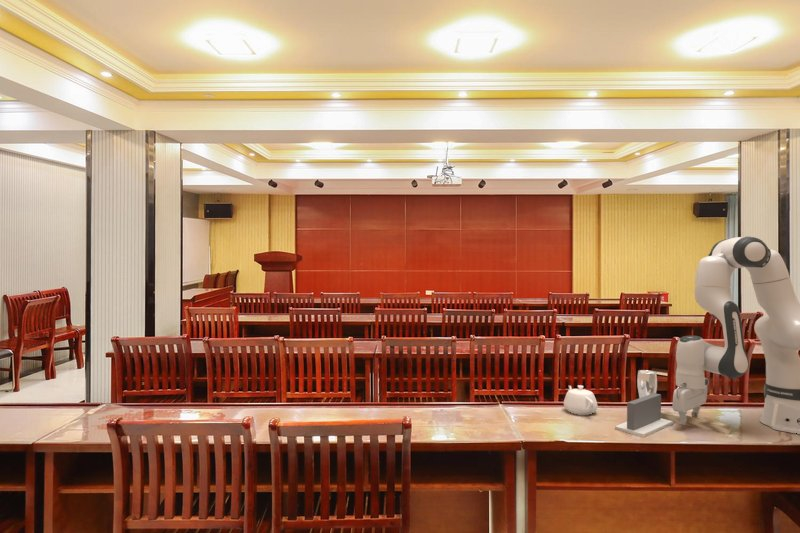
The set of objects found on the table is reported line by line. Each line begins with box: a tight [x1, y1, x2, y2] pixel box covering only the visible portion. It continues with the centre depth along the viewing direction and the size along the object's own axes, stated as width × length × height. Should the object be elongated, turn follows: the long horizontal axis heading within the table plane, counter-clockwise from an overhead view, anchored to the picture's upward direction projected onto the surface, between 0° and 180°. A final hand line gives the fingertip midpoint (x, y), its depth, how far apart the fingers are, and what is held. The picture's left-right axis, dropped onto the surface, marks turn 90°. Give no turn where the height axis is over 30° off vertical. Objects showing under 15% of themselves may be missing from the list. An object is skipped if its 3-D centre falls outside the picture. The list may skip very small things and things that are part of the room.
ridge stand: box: [614, 392, 674, 438], centre depth 174 cm, size 10×22×10 cm, turn 128°
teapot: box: [563, 384, 599, 416], centre depth 192 cm, size 20×12×10 cm, turn 6°
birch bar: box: [661, 410, 731, 435], centre depth 176 cm, size 24×3×3 cm, turn 46°
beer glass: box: [636, 369, 658, 399], centre depth 194 cm, size 7×7×15 cm
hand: (689, 419), depth 176 cm, fingers open, 8 cm apart
